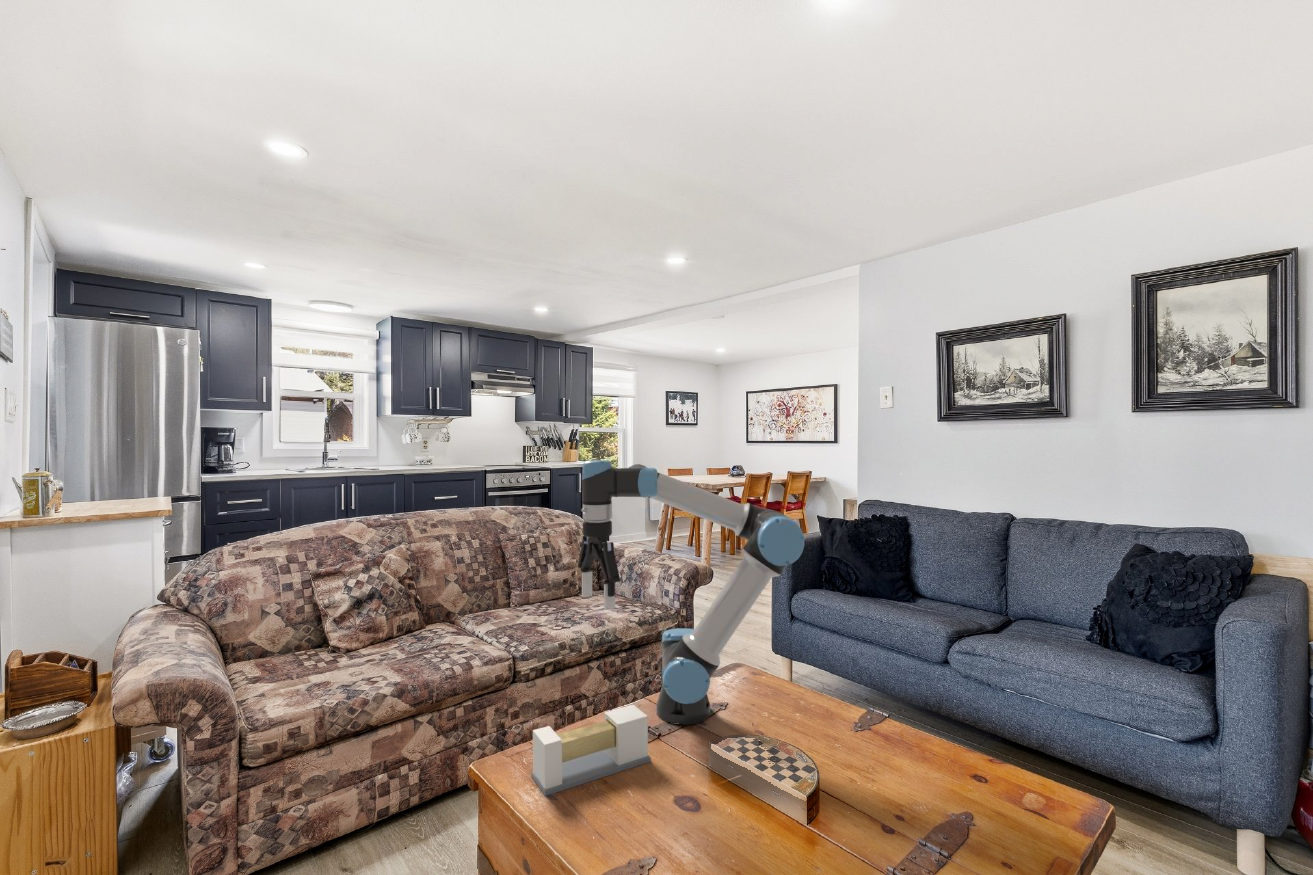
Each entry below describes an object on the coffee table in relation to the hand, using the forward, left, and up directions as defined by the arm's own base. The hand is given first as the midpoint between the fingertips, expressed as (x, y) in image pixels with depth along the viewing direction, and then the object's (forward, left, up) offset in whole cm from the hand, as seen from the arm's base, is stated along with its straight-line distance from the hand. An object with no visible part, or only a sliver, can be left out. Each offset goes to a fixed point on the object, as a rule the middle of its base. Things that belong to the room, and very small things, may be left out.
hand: (598, 602), depth 158 cm
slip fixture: (+8, +13, -35) cm, 38 cm away
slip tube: (+11, +13, -30) cm, 34 cm away
